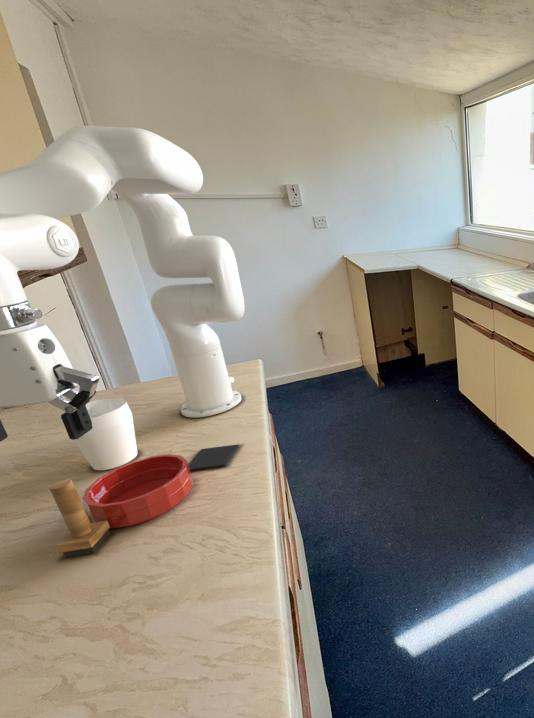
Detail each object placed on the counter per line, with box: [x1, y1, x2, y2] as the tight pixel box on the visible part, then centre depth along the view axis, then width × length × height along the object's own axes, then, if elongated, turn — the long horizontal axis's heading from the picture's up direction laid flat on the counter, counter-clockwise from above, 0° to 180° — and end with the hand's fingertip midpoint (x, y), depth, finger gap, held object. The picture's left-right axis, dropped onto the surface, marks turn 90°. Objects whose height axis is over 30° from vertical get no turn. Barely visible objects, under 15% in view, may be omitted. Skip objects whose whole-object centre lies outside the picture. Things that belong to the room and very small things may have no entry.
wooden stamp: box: [49, 478, 111, 558], centre depth 59 cm, size 4×4×12 cm
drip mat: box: [188, 444, 240, 472], centre depth 81 cm, size 7×7×1 cm
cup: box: [72, 397, 138, 471], centre depth 79 cm, size 9×9×12 cm
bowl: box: [82, 453, 194, 529], centre depth 69 cm, size 13×13×5 cm
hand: (39, 438), depth 54 cm, fingers open, 9 cm apart
